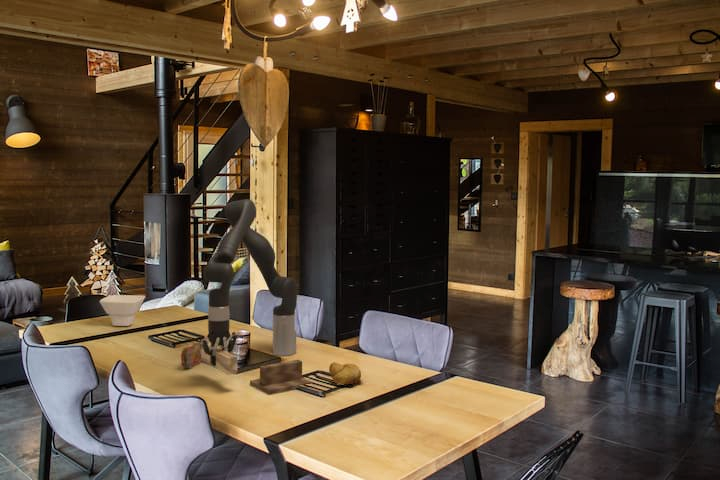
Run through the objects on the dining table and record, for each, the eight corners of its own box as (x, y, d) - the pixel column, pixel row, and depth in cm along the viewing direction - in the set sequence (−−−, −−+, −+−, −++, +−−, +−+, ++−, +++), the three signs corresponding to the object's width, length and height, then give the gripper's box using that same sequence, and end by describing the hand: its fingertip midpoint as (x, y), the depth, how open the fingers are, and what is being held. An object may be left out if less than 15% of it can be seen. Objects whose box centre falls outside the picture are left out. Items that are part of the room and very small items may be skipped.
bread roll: (353, 377, 254) (353, 356, 253) (369, 383, 246) (370, 362, 246) (326, 383, 246) (326, 361, 245) (342, 389, 238) (342, 367, 238)
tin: (187, 371, 257) (187, 349, 256) (179, 370, 258) (179, 349, 257) (203, 361, 272) (203, 340, 271) (196, 360, 272) (196, 340, 272)
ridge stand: (292, 376, 253) (292, 356, 252) (312, 385, 242) (312, 364, 241) (249, 384, 242) (250, 363, 241) (269, 394, 230) (269, 372, 230)
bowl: (135, 330, 324) (135, 302, 322) (96, 329, 324) (95, 301, 323) (148, 322, 342) (148, 295, 341) (111, 321, 342) (110, 294, 341)
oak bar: (210, 359, 251) (210, 343, 250) (237, 373, 234) (237, 356, 233) (201, 360, 249) (201, 344, 248) (228, 375, 231) (228, 358, 231)
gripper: (231, 314, 247) (231, 359, 248) (196, 318, 238) (196, 365, 240) (241, 317, 241) (241, 364, 242) (205, 322, 232) (205, 370, 234)
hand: (218, 364), depth 241 cm, fingers closed on oak bar, 3 cm apart
